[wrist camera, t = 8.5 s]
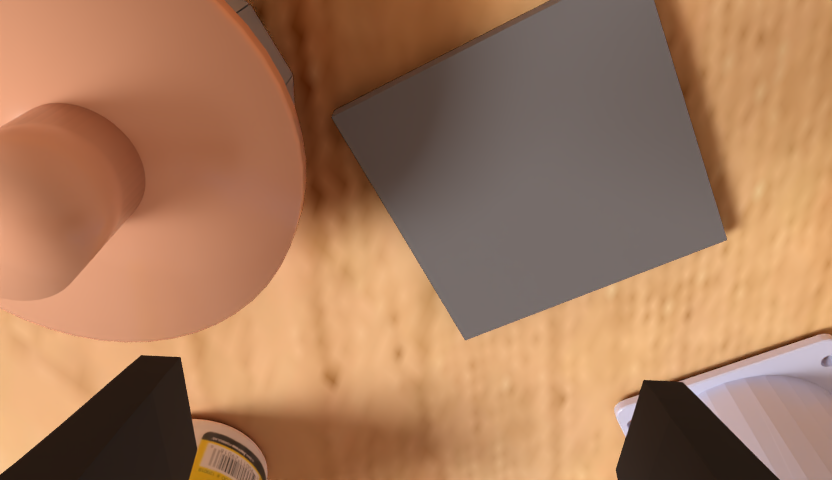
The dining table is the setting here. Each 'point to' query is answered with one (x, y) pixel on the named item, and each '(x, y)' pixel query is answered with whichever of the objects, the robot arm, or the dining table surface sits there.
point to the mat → (539, 160)
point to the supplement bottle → (225, 454)
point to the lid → (141, 166)
